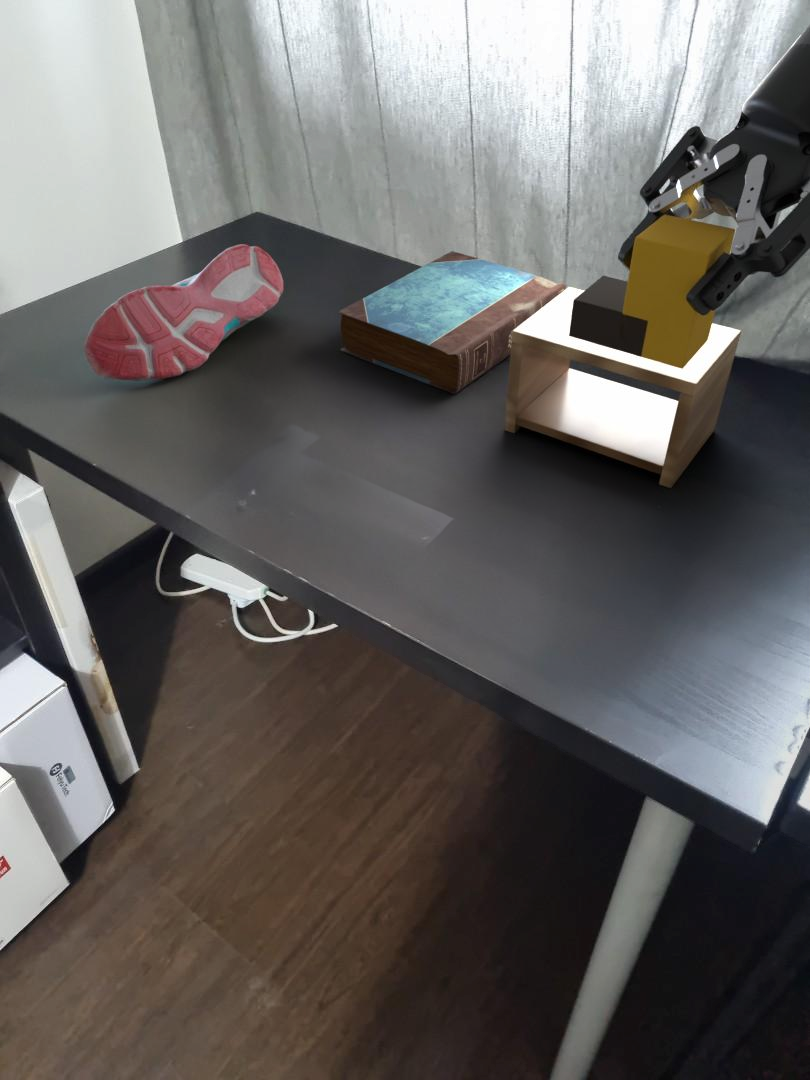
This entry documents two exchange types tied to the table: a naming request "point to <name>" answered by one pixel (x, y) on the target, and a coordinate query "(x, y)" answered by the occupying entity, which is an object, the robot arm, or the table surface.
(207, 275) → the athletic shoe
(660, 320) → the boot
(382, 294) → the book
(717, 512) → the table surface
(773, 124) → the robot arm
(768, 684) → the table surface
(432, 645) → the table surface
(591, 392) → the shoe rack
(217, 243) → the table surface
